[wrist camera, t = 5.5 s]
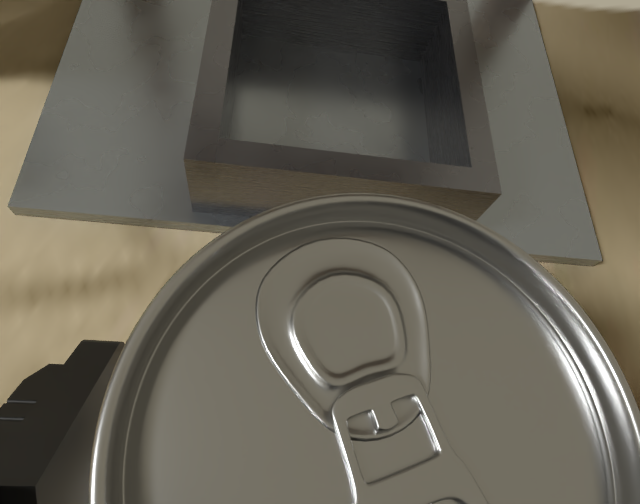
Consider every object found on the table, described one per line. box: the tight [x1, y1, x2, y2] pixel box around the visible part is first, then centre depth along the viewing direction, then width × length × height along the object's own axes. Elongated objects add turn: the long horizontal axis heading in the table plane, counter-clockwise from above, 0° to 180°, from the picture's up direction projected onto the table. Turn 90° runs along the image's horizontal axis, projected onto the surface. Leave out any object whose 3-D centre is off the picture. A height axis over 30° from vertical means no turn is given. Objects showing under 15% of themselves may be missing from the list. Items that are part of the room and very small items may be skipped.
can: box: [88, 193, 640, 504], centre depth 10 cm, size 6×6×12 cm
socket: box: [8, 0, 603, 266], centre depth 21 cm, size 20×24×4 cm
